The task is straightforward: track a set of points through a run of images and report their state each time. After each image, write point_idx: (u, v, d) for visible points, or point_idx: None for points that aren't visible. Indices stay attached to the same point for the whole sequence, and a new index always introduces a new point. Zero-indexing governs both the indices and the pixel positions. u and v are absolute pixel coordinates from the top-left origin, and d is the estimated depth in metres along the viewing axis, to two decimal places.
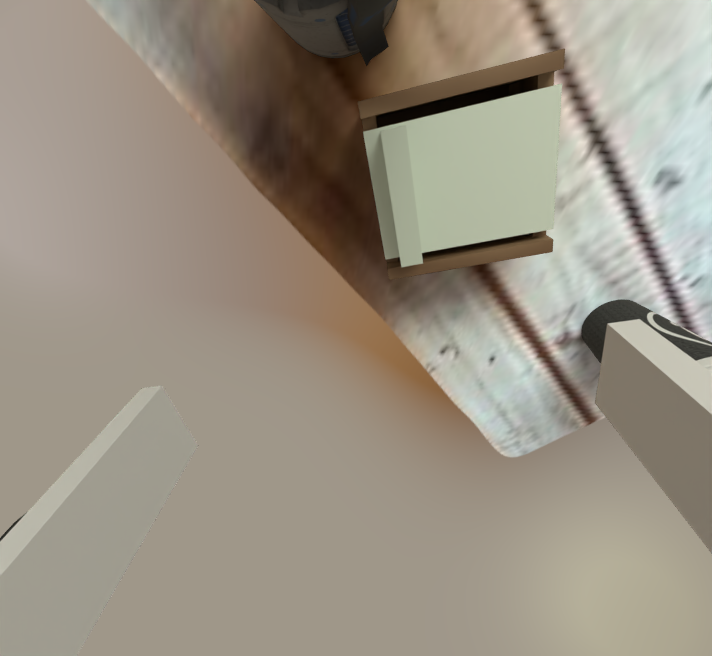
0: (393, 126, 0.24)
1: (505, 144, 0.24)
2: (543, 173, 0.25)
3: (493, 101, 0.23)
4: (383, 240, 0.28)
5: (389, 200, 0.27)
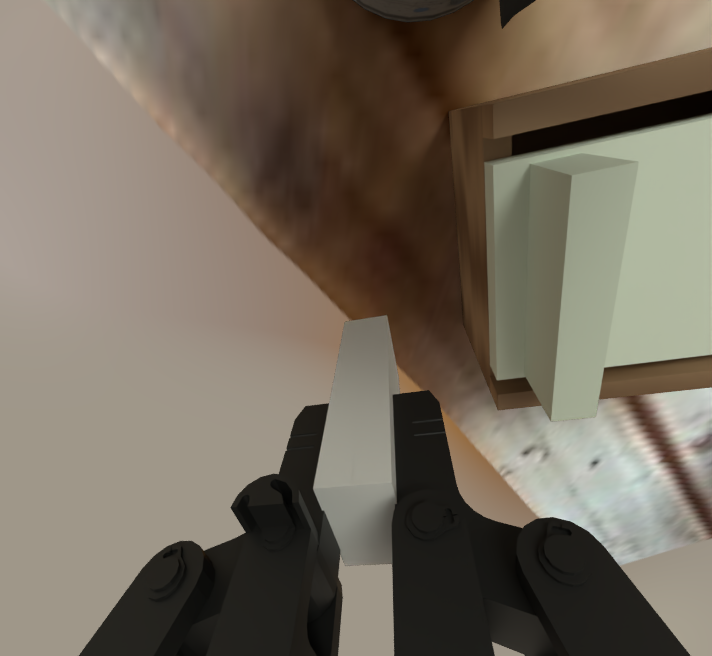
0: (559, 155, 0.12)
1: None
2: None
3: None
4: (498, 352, 0.16)
5: (523, 289, 0.14)
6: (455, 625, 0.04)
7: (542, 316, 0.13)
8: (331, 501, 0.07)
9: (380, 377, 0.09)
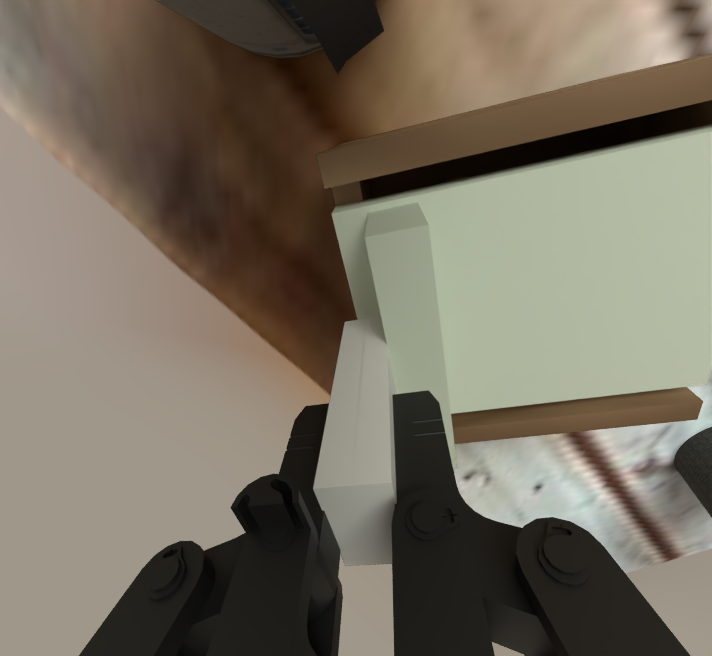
0: (396, 203, 0.11)
1: (636, 239, 0.11)
2: (708, 293, 0.12)
3: (624, 152, 0.10)
4: None
5: None
6: (454, 624, 0.04)
7: None
8: (331, 501, 0.07)
9: (379, 378, 0.09)
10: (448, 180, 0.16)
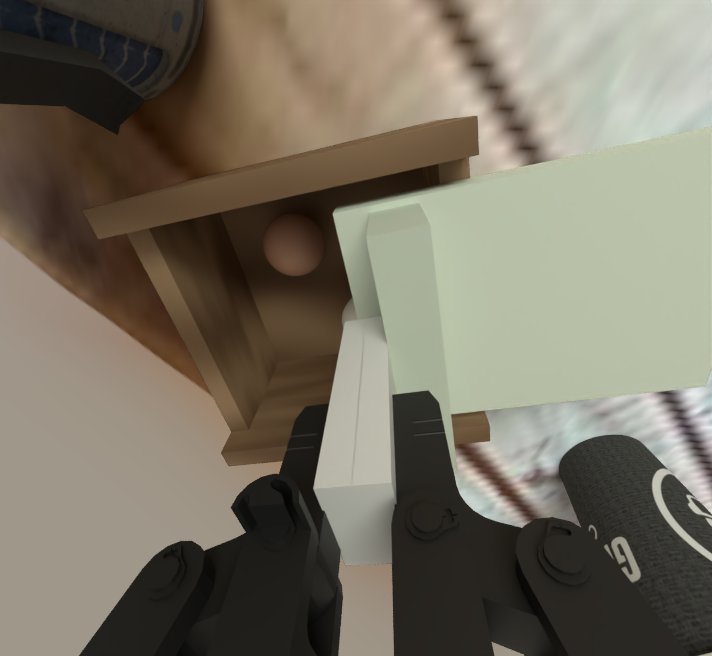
0: (397, 204, 0.11)
1: (637, 241, 0.11)
2: (708, 295, 0.12)
3: (625, 154, 0.10)
4: None
5: None
6: (454, 624, 0.04)
7: None
8: (331, 501, 0.07)
9: (379, 378, 0.09)
10: (277, 217, 0.17)
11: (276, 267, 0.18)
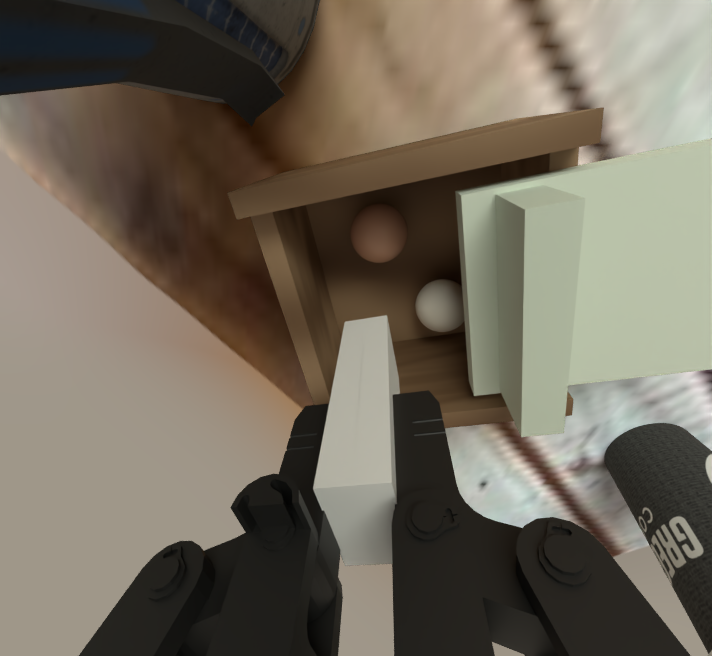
0: (522, 186, 0.12)
1: None
2: None
3: None
4: (474, 369, 0.16)
5: (494, 310, 0.15)
6: (454, 624, 0.04)
7: (510, 336, 0.13)
8: (331, 501, 0.07)
9: (380, 378, 0.09)
10: (367, 207, 0.19)
11: (364, 253, 0.19)
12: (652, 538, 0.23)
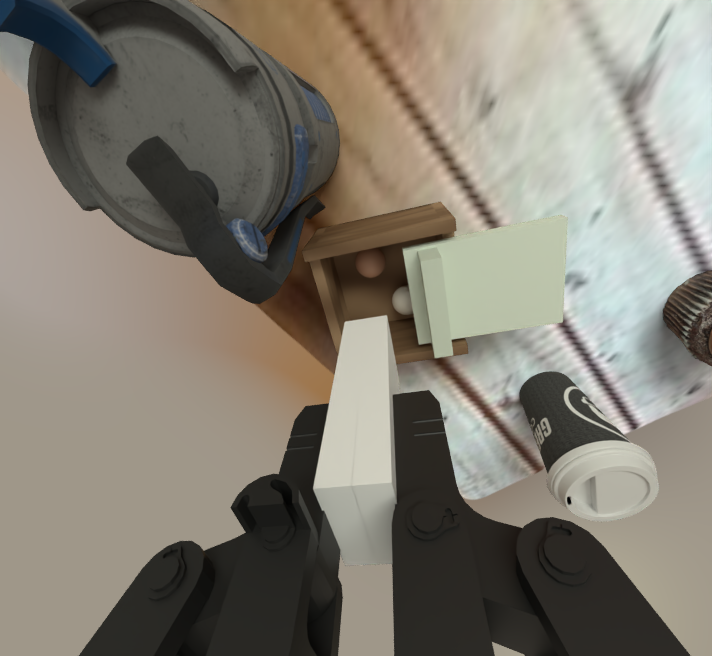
0: (428, 247, 0.29)
1: (521, 260, 0.29)
2: (553, 281, 0.30)
3: (511, 230, 0.28)
4: (417, 330, 0.33)
5: (423, 300, 0.32)
6: (454, 623, 0.04)
7: (427, 311, 0.30)
8: (331, 501, 0.07)
9: (380, 378, 0.09)
10: None
11: (362, 273, 0.36)
12: (534, 434, 0.40)
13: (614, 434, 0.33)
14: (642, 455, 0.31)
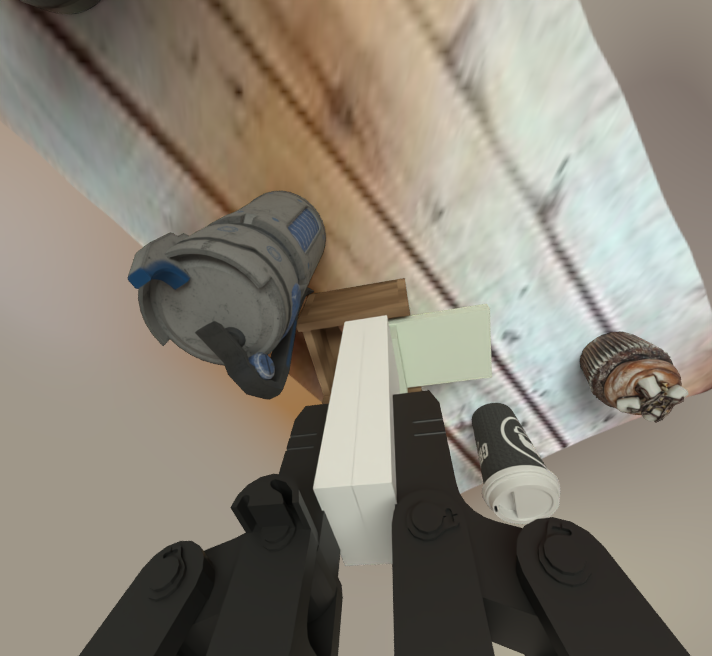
0: (390, 324, 0.40)
1: (458, 335, 0.40)
2: (482, 349, 0.40)
3: (449, 315, 0.39)
4: None
5: None
6: (454, 624, 0.04)
7: None
8: (331, 501, 0.07)
9: (380, 378, 0.09)
10: None
11: None
12: (478, 455, 0.51)
13: (531, 459, 0.44)
14: (547, 476, 0.42)
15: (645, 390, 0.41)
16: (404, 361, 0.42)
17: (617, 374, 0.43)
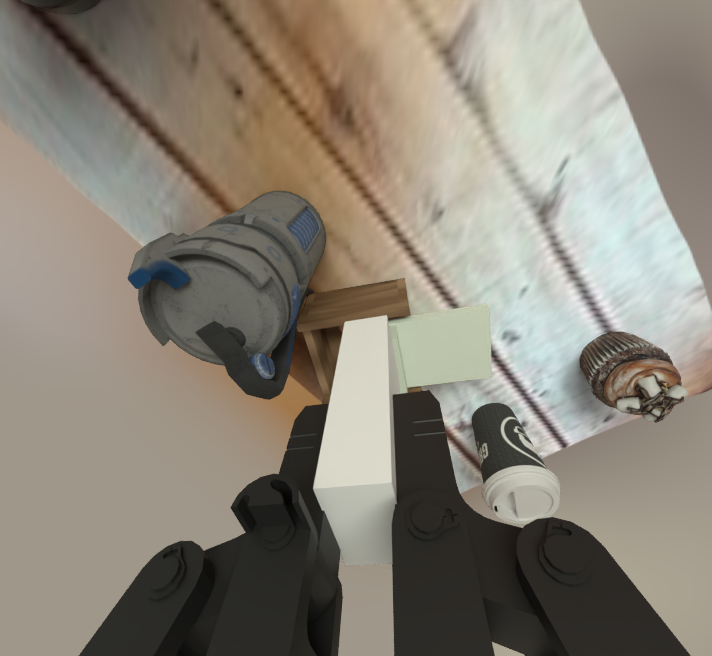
0: (390, 324, 0.40)
1: (458, 335, 0.40)
2: (482, 349, 0.40)
3: (449, 315, 0.39)
4: None
5: None
6: (454, 624, 0.04)
7: None
8: (331, 501, 0.07)
9: (380, 378, 0.09)
10: None
11: None
12: (478, 455, 0.51)
13: (531, 459, 0.44)
14: (547, 476, 0.42)
15: (645, 390, 0.41)
16: (404, 361, 0.42)
17: (617, 374, 0.43)
